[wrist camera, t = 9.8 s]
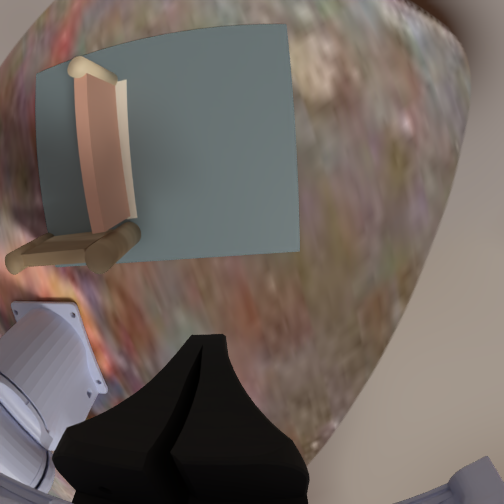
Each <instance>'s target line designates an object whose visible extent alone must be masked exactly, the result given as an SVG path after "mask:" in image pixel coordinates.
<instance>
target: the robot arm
mask: <svg viewBox="0 0 504 504" xmlns="http://www.w3.org/2000/svg"><path fill="white" fill-rule="evenodd" d="M11 308H12V311H13V314H14V316H15V319H16V322H17V323H16V324H14V325H13V326H12V327H11V328H10V329H9V330H8V331H7V332H6V333H5V334H4V335H3V336H2V337H1V338H0V504H308V499H307V490H308V485H309V473H308V470H307V467H306V464H305V462H304V460H303V458H302V456H301V454H300V453H299V451H298V449H297V448H296V446H295V444H294V443H293V441H292V440H291V439H290V438H289V437H287V436H286V435H285V434H284V433H282V432H281V431H280V430H279V429H278V428H277V427H276V426H275V425H274V424H272V423H271V422H270V421H269V420H268V419H267V418H266V416H265V415H264V414H263V413H262V412H261V411H260V410H259V408H258V407H257V406H256V405H255V404H254V402H253V401H252V400H251V398H250V397H249V396H248V394H247V393H246V391H245V390H244V388H243V386H242V385H241V383H240V381H239V379H238V377H237V375H236V374H235V371H234V369H233V367H232V364H231V362H230V359H229V357H228V349H227V342H226V336H225V335H223V334H211V335H191V336H190V337H189V339H188V340H187V341H186V342H185V344H184V345H183V346H182V347H181V348H180V350H179V351H178V352H177V353H176V355H175V356H174V357H173V358H172V359H171V360H170V361H169V362H168V364H167V365H166V366H165V367H164V368H163V369H162V370H161V371H160V372H159V373H158V374H157V375H156V376H155V377H154V378H153V379H152V380H151V381H150V382H149V383H147V384H146V385H145V386H144V387H143V388H141V389H140V390H139V391H137V392H136V393H135V394H133V395H132V396H130V397H129V398H127V399H126V400H124V401H123V402H121V403H120V404H118V405H117V406H115V407H113V408H111V409H109V410H108V411H106V412H104V413H102V414H100V415H98V416H95V417H93V418H91V419H88V420H86V421H85V419H86V417H87V415H88V413H89V411H90V409H91V407H92V405H93V403H94V401H95V399H96V397H97V395H98V393H103V394H105V393H107V391H108V387H107V385H106V383H105V380H104V378H103V376H102V373H101V371H100V368H99V366H98V364H97V361H96V358H95V356H94V353H93V351H92V348H91V345H90V342H89V340H88V337H87V334H86V331H85V328H84V325H83V322H82V319H81V316H80V313H79V310H78V307H77V305H76V304H75V303H74V302H35V301H13V302H12V303H11ZM72 312H73V313H74V314H75V315H74V314H73V313H72ZM52 450H55V451H54V453H53V454H52V453H51V451H52ZM55 467H56V469H57V470H58V472H59V473H60V474H61V475H62V476H63V477H64V478H65V479H66V480H67V482H68V483H69V484H70V485H71V486H72V487H73V488H74V489H75V490H76V492H75V495H74V498H73V501H72V503H71V502H68V501H65V500H63V499H60V498H57V497H54V496H52V495H49V494H47V493H48V492H49V490H50V488H51V486H52V484H53V481H54V477H55ZM394 504H504V482H503V481H502V479H501V477H500V475H499V474H498V472H497V470H496V469H495V467H494V465H493V464H492V462H491V460H490V459H489V457H488V456H485V457H483V458H481V459H479V460H477V461H475V462H473V463H471V464H469V465H467V466H465V467H463V468H462V469H460V470H459V471H457V472H456V473H455V474H454V475H453V476H452V477H451V478H450V480H449V482H448V483H447V484H444V485H442V486H440V487H437V488H435V489H432V490H430V491H428V492H425V493H423V494H420V495H417V496H415V497H412V498H409V499H406V500H403V501H400V502H397V503H394Z"/></svg>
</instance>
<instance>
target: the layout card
mask: <svg viewBox="0 0 504 504" xmlns="http://www.w3.org/2000/svg"><path fill="white" fill-rule="evenodd" d="M82 57H84V58H86V59H88V60H90V61H92V62H94V63H96V64H98V65H100V66H102V67H103V68H105V69H107V70H109V71H111V72H113V73H114V74H116V75H117V78H118V81H117V84H116V85H115V92H116V107H117V119H118V130H119V139H120V148H121V156H122V164H123V172H124V179H125V185H126V192H127V198H128V204H129V210H130V215H131V216H130V217H128V218H127V219H125V220H123V221H122V222H120V223H118V224H117V225H115V226H114V227H112V228H110V229H109V230H112V229H113V230H114V229H116V228H118V227H119V226H121V225H122V224H124V223H126V222H133V223H135V224H137V225H138V227H139V228H140V230H141V239H140V241H139V242H138V243H137V244H136V245H135V246H134V247H132V248H131V249H130V250H129V251H128V252H127V253H126V254H125V255H124V256H123V257H122V258H121V259H120V260H118V261H117V262H116V263H129V262H145V261H160V260H175V259H191V258H206V257H221V256H236V255H251V254H266V253H281V252H296V251H300V237H299V199H298V173H297V152H296V134H295V118H294V104H293V90H292V78H291V66H290V55H289V45H288V35H287V26H286V24H259V25H237V26H224V27H213V28H204V29H196V30H189V31H182V32H176V33H170V34H165V35H159V36H154V37H150V38H145V39H140V40H136V41H132V42H128V43H124V44H120V45H116V46H113V47H109V48H106V49H102V50H99V51H96V52H93V53H90V54H87V55H84V56H82ZM70 62H71V60H69V61H67V62H64V63H61V64H59V65H56V66H54V67H51V68H49V69H47V70H44V71H42V72H40V73H37V74H36V101H35V114H36V143H37V157H38V169H39V178H40V186H41V194H42V201H43V207H44V214H45V219H46V225H47V230H48V233H51V234H53V235H54V236H59V235H67V234H76V233H85V232H92V229H91V224H90V219H89V214H88V209H87V204H86V198H85V192H84V186H83V179H82V172H81V165H80V157H79V148H78V139H77V128H76V114H75V95H74V77H71V76H69V74H68V72H67V68H68V65H69V63H70ZM82 265H86V263H75V264H61V265H55V266H56V267H66V266H82Z"/></svg>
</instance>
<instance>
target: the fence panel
mask: <svg viewBox="0 0 504 504" xmlns="http://www.w3.org/2000/svg"><path fill="white" fill-rule="evenodd" d="M67 72H68V74H69V76H71V77H74V95H75V114H76V128H77V139H78V148H79V157H80V165H81V172H82V179H83V186H84V192H85V198H86V204H87V209H88V214H89V219H90V224H91V229H92V234H95V233H101V232H106V231H107V230H109V229H110V228H112V227H114V226H115V225H117V224H118V223H120V222H122V221H123V220H125V219H127V218H128V217H130V216H131V215H130V210H129V204H128V198H127V192H126V185H125V179H124V172H123V164H122V156H121V148H120V139H119V130H118V119H117V107H116V92H115V85H116V84H117V81H118V78H117V75H116V74H114V73H113V72H111V71H109V70H107V69H105V68H103V67H102V66H100V65H98V64H96V63H94V62H92V61H90V60H88V59H86V58H84V57H82V56H77V57H75V58H74V59H72V60H71V62H70V63H69V65H68V68H67Z"/></svg>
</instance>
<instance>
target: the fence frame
mask: <svg viewBox="0 0 504 504" xmlns="http://www.w3.org/2000/svg"><path fill="white" fill-rule="evenodd" d="M140 239H141V230H140V228H139V227H138V225H137V224H135V223H133V222H126V223H124V224H122V225H121V226H119V227H118V228H116V229H114V230H113V229H112V230H107V231H106V232H101V233H95V234H92V232H85V233H76V234H67V235H59V236H54V235H53V234H51V233H46V234H44V235H42V236H40V237H38V238H37V239H35V240H33V241H31V242H29V243H27V244H25V245H23V246H21V247H20V248H18V249H16V250H14V251H12V252H10V253H9V254H7V255H6V257H5V265H6V267H7V269H8V271H9V272H10V273H11V274H14V275H16V274H18V273H19V272H21V271H22V270H24V269H25V268H27V267H31V266H46V265H61V264H75V263H86V265H87V266H88V268H89V269H90V270H91V271H92V272H94V273H97V274H103V273H105V272H107V271H108V270H109V269H110V268H111V267H112V266H113V265H114V264H115V263H116V262H117V261H118V260H120V259H121V258H122V257H123V256H124V255H125V254H126V253H127V252H128V251H129V250H130V249H131V248H132V247H134V246H135V245H136V244H137V243H138V242H139V241H140Z"/></svg>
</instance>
